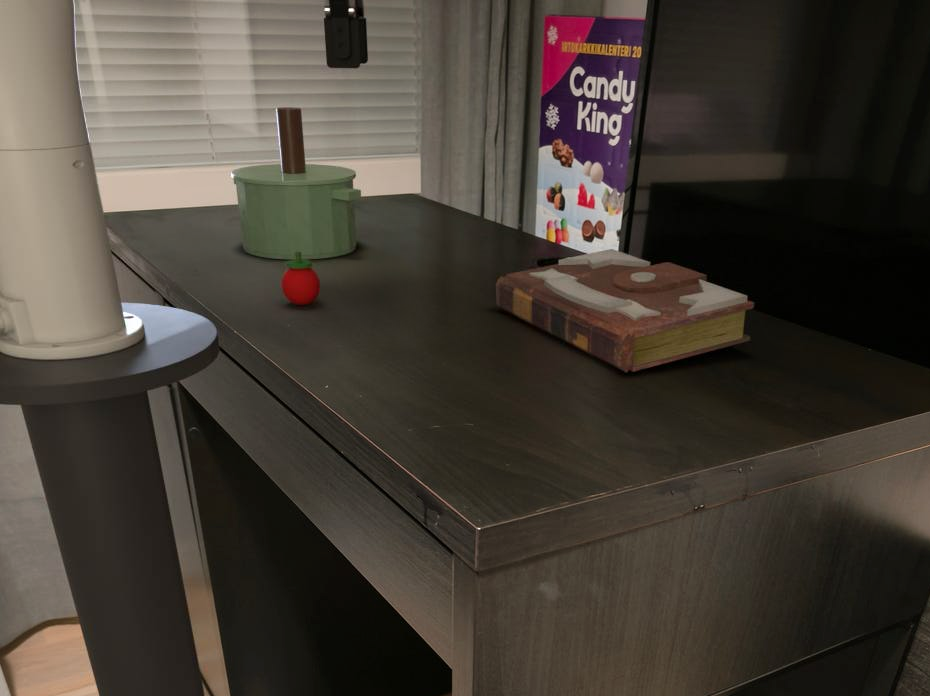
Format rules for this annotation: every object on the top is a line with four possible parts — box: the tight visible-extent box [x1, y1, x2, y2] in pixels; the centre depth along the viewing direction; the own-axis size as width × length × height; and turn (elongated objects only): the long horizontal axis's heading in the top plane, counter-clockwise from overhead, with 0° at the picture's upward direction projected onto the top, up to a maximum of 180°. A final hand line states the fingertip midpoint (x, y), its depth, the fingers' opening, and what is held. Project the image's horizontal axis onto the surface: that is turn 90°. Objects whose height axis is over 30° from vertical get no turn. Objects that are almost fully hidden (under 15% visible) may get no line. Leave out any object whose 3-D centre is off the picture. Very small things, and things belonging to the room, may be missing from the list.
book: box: [495, 248, 755, 374], centre depth 90 cm, size 23×16×5 cm
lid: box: [230, 106, 357, 186], centre depth 115 cm, size 16×16×8 cm
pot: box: [233, 179, 362, 261], centre depth 119 cm, size 15×20×8 cm
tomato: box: [281, 251, 321, 306], centre depth 96 cm, size 4×4×5 cm
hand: (348, 65), depth 93 cm, fingers open, 9 cm apart
